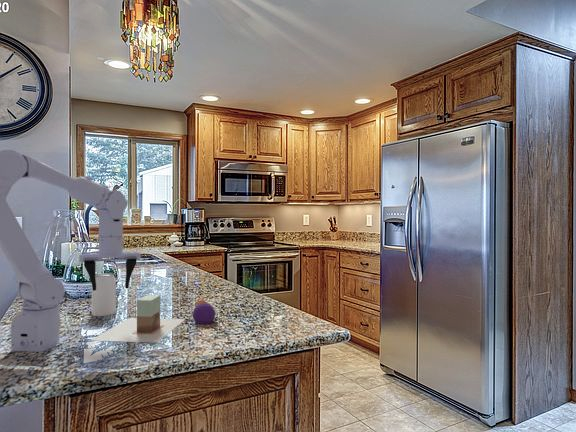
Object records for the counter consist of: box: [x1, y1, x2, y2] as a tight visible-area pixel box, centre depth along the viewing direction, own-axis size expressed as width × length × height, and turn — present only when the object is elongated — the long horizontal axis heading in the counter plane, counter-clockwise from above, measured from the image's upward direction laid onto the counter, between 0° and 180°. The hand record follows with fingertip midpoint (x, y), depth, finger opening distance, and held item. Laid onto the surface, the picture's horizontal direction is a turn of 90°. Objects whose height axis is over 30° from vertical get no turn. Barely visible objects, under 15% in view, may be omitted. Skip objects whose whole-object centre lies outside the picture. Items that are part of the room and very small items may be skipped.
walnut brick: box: [136, 310, 161, 333], centre depth 103 cm, size 6×4×4 cm, turn 177°
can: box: [91, 272, 117, 317], centre depth 119 cm, size 6×6×12 cm
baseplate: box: [89, 317, 186, 343], centre depth 103 cm, size 20×16×1 cm
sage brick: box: [136, 294, 161, 317], centre depth 103 cm, size 6×4×4 cm, turn 177°
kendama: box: [192, 299, 216, 325], centre depth 117 cm, size 6×6×20 cm
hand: (110, 288), depth 106 cm, fingers open, 7 cm apart
